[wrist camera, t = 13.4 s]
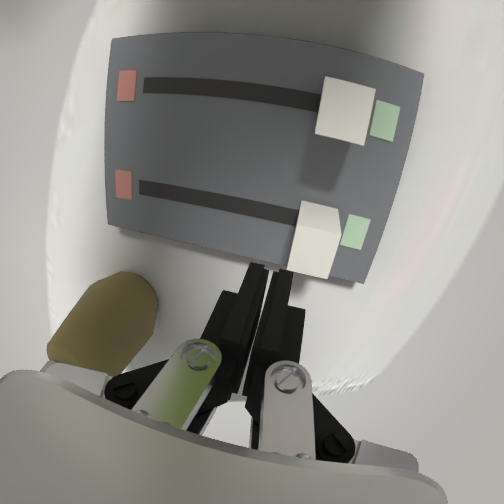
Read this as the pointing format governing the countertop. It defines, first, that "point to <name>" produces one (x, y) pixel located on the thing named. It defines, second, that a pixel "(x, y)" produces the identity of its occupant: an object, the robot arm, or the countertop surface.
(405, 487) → the robot arm
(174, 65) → the slider switch panel
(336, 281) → the countertop surface
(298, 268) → the block
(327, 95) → the block
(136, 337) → the squeeze bottle
